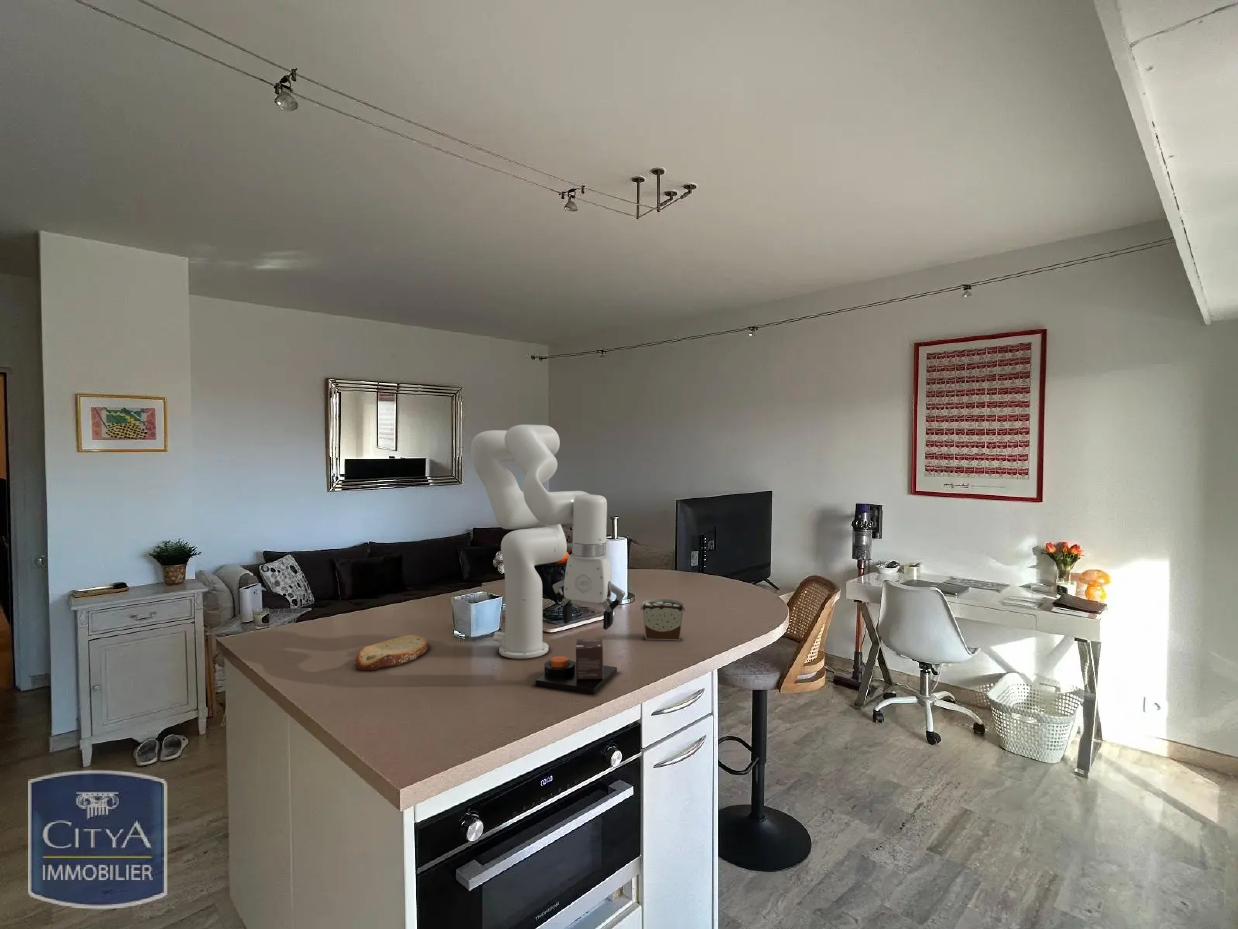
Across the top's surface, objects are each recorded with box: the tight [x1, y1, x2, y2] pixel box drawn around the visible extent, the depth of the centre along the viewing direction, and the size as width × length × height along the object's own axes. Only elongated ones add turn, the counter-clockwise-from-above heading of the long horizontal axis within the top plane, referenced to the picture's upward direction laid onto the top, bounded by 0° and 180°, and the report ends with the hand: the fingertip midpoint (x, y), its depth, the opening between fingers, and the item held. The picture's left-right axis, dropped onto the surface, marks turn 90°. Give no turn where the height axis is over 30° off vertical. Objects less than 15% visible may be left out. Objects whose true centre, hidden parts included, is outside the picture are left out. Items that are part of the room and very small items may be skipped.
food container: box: [639, 598, 686, 641], centre depth 174 cm, size 12×6×10 cm, turn 84°
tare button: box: [550, 655, 569, 668], centre depth 143 cm, size 4×4×2 cm
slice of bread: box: [354, 634, 429, 671], centre depth 157 cm, size 18×18×4 cm
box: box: [575, 638, 604, 680], centre depth 141 cm, size 6×6×7 cm
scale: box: [535, 659, 618, 696], centre depth 142 cm, size 15×14×3 cm
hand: (587, 624), depth 141 cm, fingers open, 9 cm apart
